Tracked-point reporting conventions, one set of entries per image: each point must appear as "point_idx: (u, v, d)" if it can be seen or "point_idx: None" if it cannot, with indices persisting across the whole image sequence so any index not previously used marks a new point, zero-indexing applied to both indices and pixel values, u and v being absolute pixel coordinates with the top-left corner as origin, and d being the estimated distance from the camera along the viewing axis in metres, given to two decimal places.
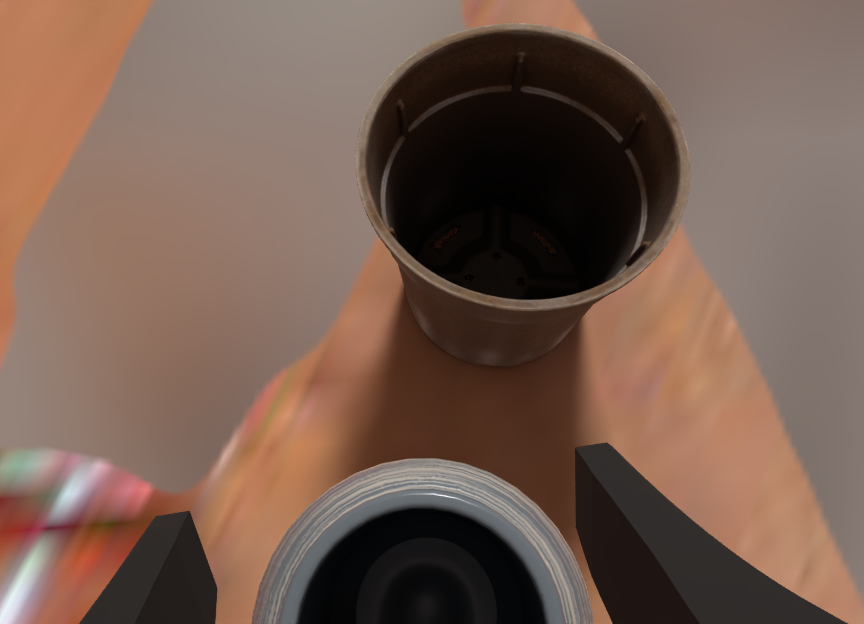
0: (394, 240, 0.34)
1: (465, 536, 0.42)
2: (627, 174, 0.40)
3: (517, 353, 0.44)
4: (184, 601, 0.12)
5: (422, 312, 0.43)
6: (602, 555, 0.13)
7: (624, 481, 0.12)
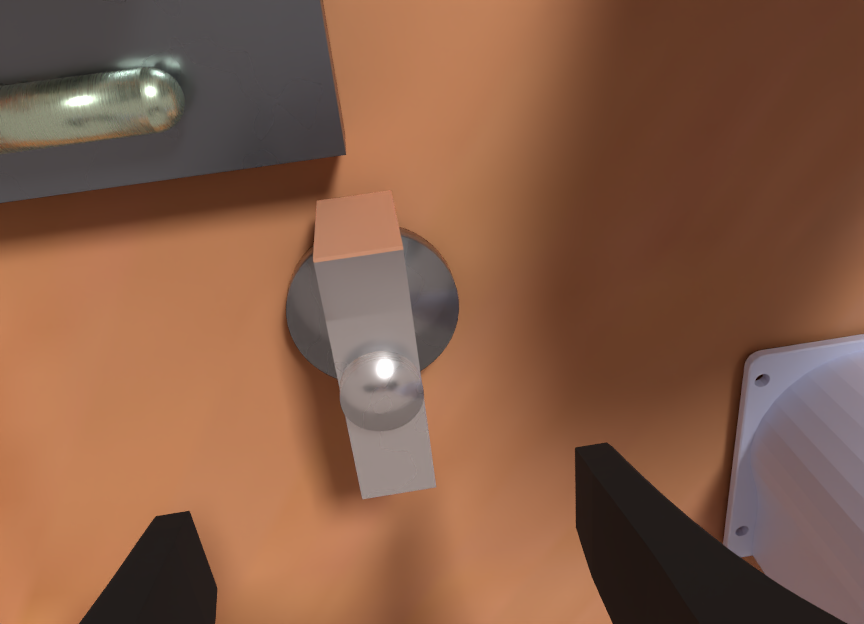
0: None
1: None
2: None
3: None
4: (183, 601, 0.12)
5: None
6: (602, 554, 0.13)
7: (624, 481, 0.12)
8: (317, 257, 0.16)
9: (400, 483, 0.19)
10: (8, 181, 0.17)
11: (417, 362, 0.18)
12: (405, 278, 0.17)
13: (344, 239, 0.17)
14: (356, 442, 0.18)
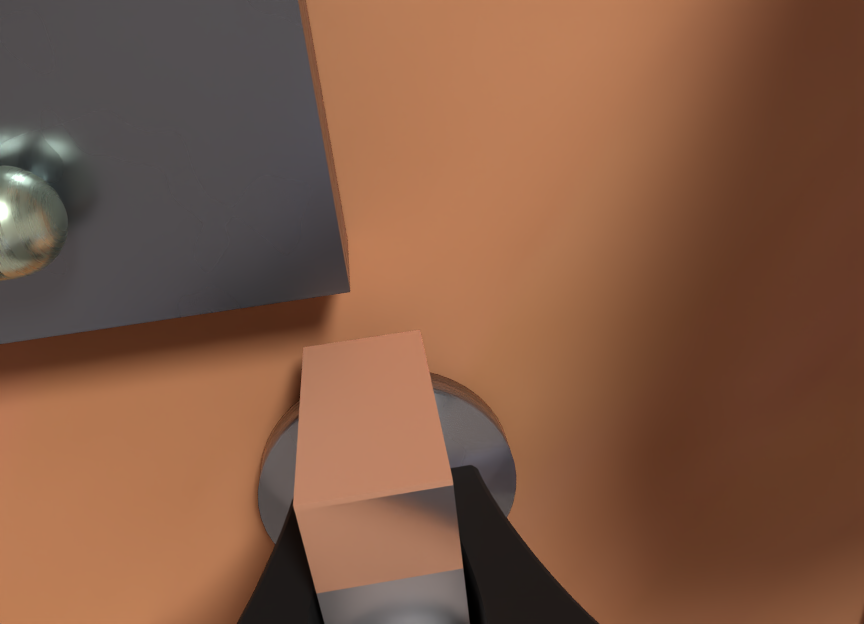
0: None
1: None
2: None
3: None
4: None
5: None
6: None
7: (473, 506, 0.12)
8: (301, 501, 0.09)
9: None
10: None
11: None
12: (454, 525, 0.10)
13: (347, 452, 0.10)
14: None
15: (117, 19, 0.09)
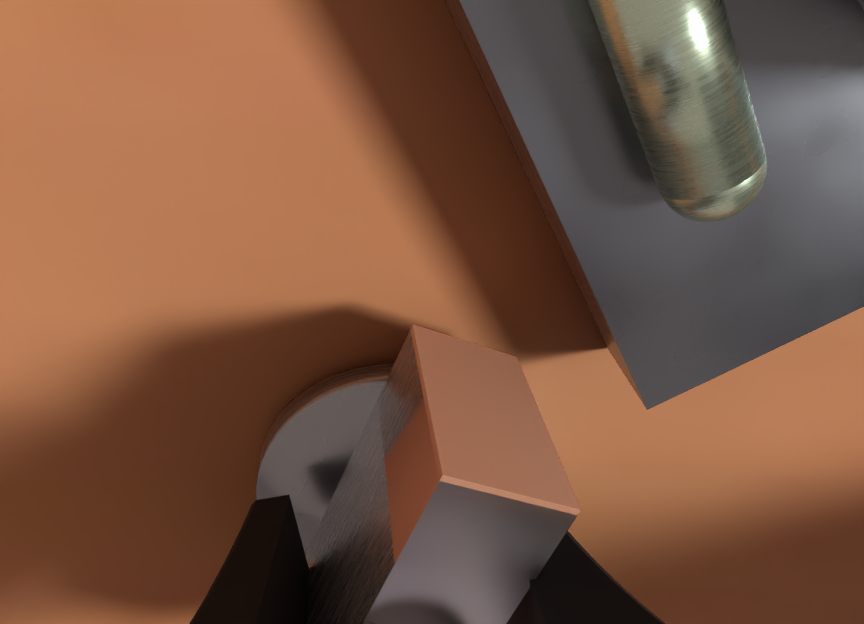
0: None
1: None
2: None
3: None
4: (291, 583, 0.12)
5: None
6: None
7: None
8: (449, 474, 0.09)
9: None
10: None
11: None
12: (549, 551, 0.10)
13: (481, 444, 0.10)
14: None
15: (849, 192, 0.11)
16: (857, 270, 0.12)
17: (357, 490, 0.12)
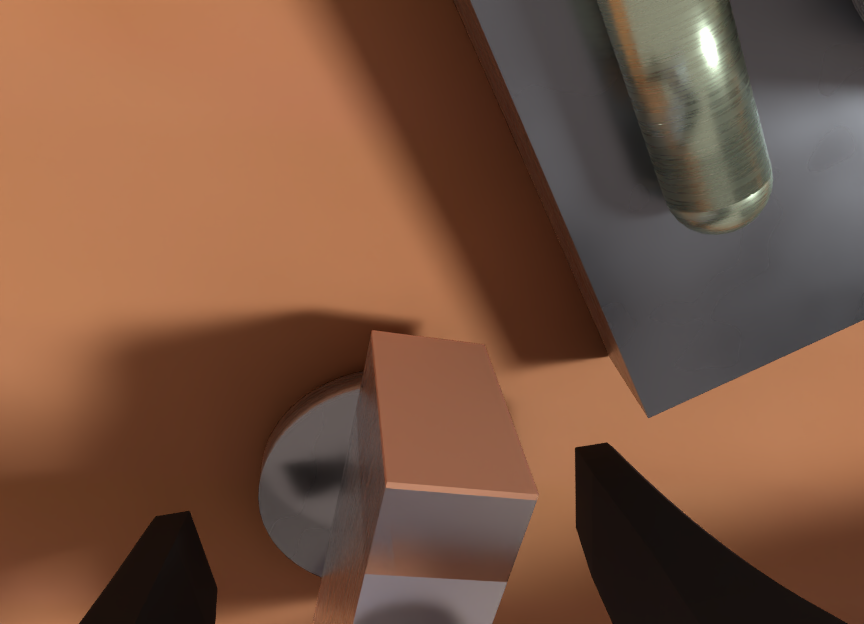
0: None
1: None
2: None
3: None
4: (184, 601, 0.12)
5: None
6: (602, 554, 0.13)
7: (624, 481, 0.12)
8: (394, 480, 0.09)
9: None
10: None
11: None
12: (518, 539, 0.10)
13: (432, 443, 0.10)
14: None
15: (851, 208, 0.11)
16: (857, 284, 0.12)
17: (347, 501, 0.12)
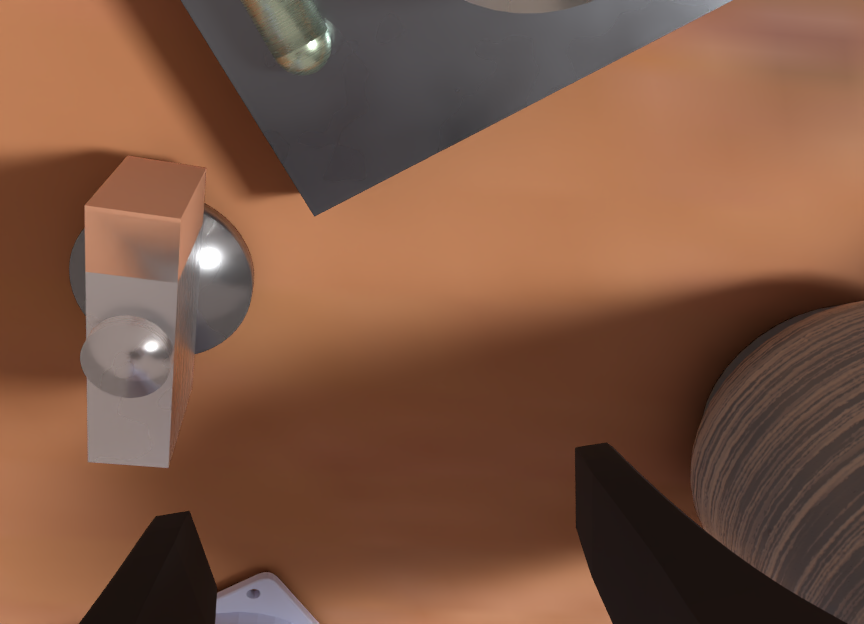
0: None
1: None
2: None
3: None
4: (183, 601, 0.12)
5: None
6: (602, 554, 0.13)
7: (624, 481, 0.12)
8: (89, 205, 0.16)
9: (131, 455, 0.19)
10: None
11: (173, 338, 0.17)
12: (177, 251, 0.16)
13: (128, 197, 0.17)
14: (93, 402, 0.18)
15: (413, 69, 0.18)
16: (433, 123, 0.19)
17: None
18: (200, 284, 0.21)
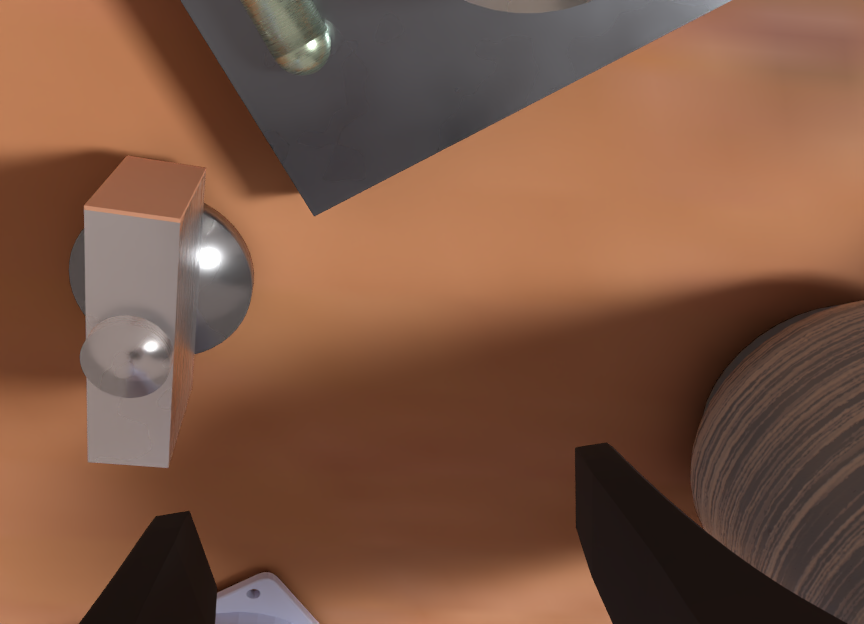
0: None
1: None
2: None
3: None
4: (183, 601, 0.12)
5: None
6: (602, 554, 0.13)
7: (624, 481, 0.12)
8: (89, 205, 0.16)
9: (131, 455, 0.19)
10: None
11: (173, 338, 0.17)
12: (176, 251, 0.16)
13: (127, 197, 0.17)
14: (93, 402, 0.18)
15: (413, 69, 0.18)
16: (432, 122, 0.19)
17: None
18: (200, 284, 0.21)
